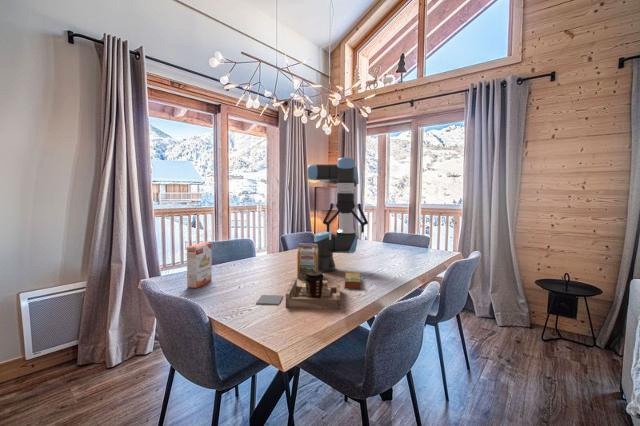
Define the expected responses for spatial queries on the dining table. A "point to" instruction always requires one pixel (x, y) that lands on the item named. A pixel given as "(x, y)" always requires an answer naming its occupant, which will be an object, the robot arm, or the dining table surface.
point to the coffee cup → (314, 284)
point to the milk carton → (306, 259)
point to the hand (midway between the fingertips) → (345, 239)
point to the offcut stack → (325, 290)
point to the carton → (352, 280)
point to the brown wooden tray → (311, 302)
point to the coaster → (270, 299)
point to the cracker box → (199, 265)
